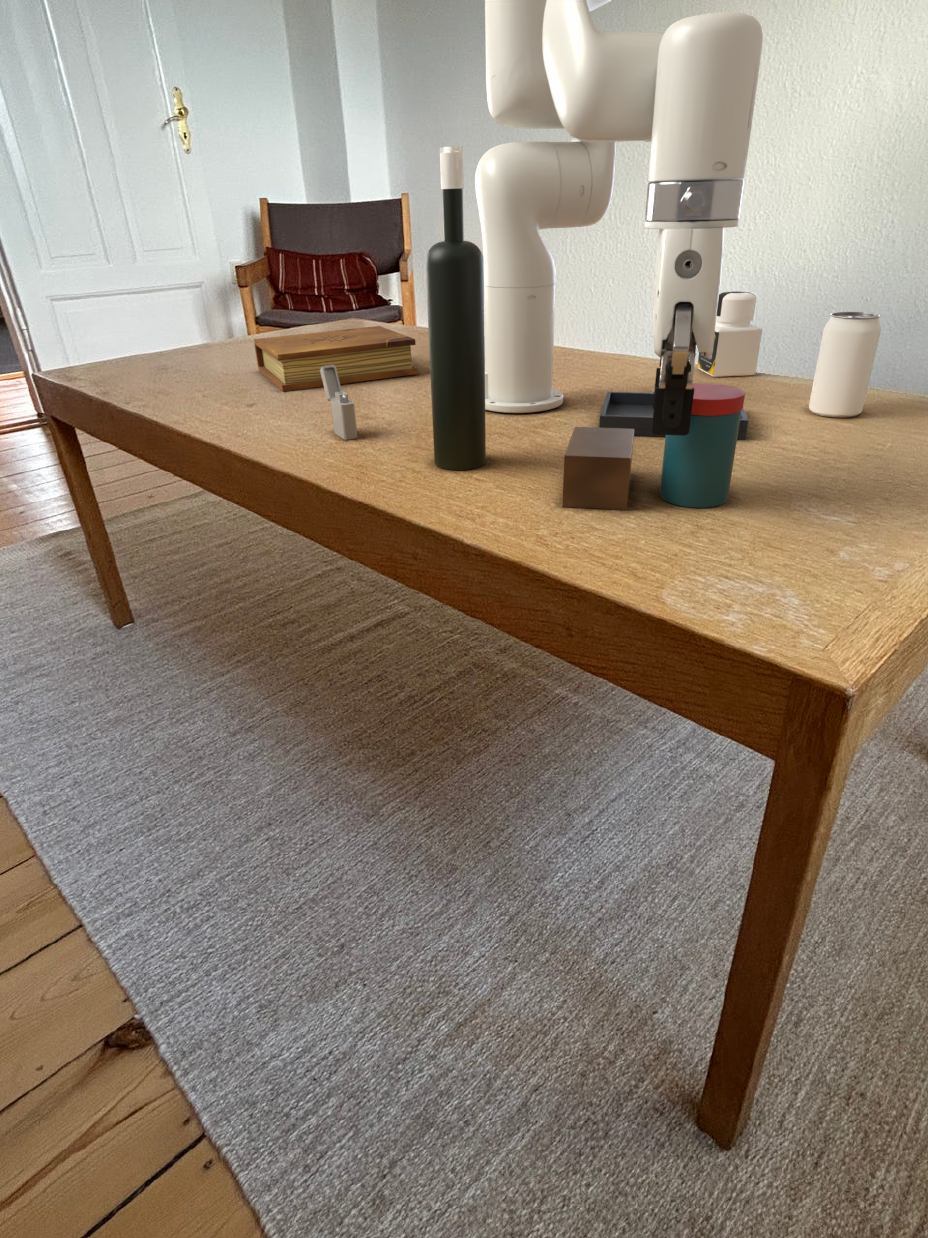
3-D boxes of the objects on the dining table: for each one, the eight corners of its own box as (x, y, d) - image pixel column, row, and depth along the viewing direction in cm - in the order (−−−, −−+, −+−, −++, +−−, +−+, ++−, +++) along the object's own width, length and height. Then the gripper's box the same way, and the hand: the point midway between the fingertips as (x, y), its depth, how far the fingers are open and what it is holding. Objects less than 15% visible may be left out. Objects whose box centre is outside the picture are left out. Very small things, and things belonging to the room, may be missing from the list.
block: (562, 506, 71) (564, 455, 69) (572, 473, 80) (575, 426, 77) (626, 510, 70) (630, 458, 68) (630, 476, 78) (634, 428, 76)
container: (609, 451, 69) (714, 360, 64) (612, 432, 75) (709, 347, 69) (690, 539, 72) (798, 459, 66) (688, 514, 77) (787, 438, 71)
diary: (380, 357, 141) (378, 325, 139) (417, 375, 127) (415, 338, 124) (258, 371, 133) (253, 337, 130) (282, 391, 118) (277, 353, 116)
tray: (598, 434, 92) (599, 415, 91) (605, 408, 104) (606, 391, 102) (745, 439, 89) (748, 420, 88) (736, 412, 100) (738, 394, 99)
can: (867, 419, 95) (891, 318, 89) (812, 417, 96) (832, 318, 91) (854, 406, 101) (876, 311, 95) (803, 405, 102) (821, 311, 96)
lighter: (358, 437, 94) (351, 371, 90) (344, 439, 93) (337, 373, 89) (338, 425, 99) (332, 362, 96) (326, 427, 99) (319, 364, 95)
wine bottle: (436, 454, 87) (422, 149, 72) (486, 454, 86) (482, 147, 72) (432, 470, 82) (417, 145, 67) (485, 470, 81) (481, 143, 67)
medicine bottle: (696, 368, 125) (705, 290, 119) (737, 366, 126) (749, 288, 120) (712, 377, 119) (723, 295, 113) (756, 375, 119) (768, 293, 114)
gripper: (751, 208, 53) (717, 450, 62) (732, 204, 68) (706, 401, 77) (643, 210, 55) (624, 446, 63) (647, 207, 70) (632, 399, 78)
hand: (669, 420), depth 70 cm, fingers open, 7 cm apart
